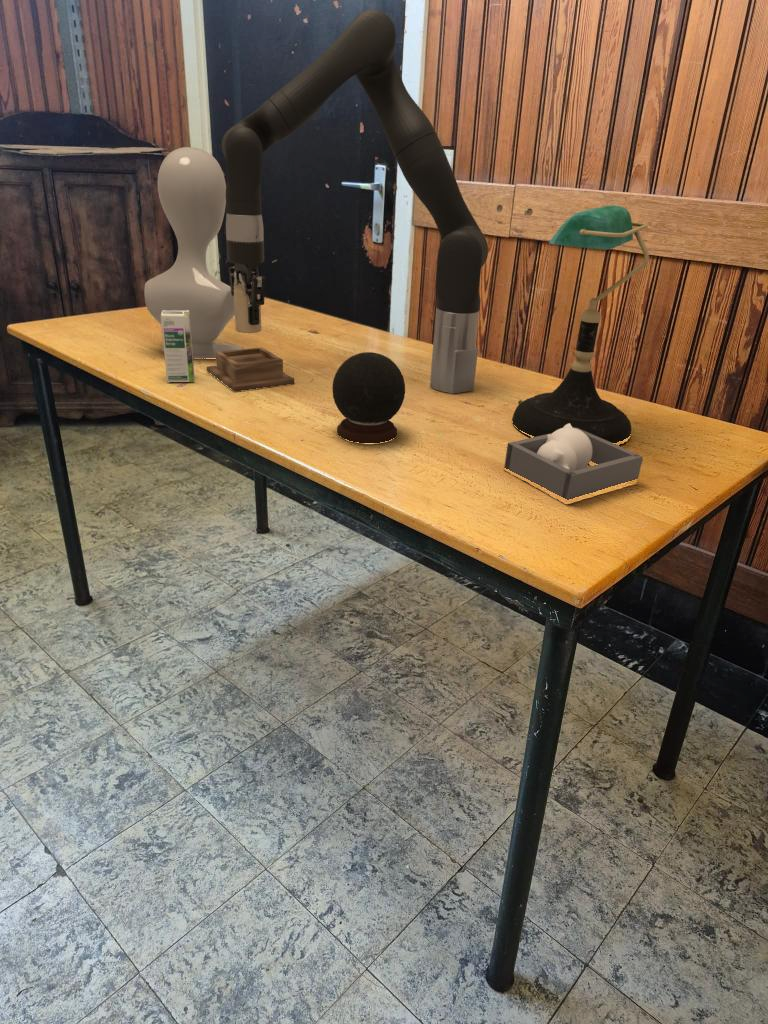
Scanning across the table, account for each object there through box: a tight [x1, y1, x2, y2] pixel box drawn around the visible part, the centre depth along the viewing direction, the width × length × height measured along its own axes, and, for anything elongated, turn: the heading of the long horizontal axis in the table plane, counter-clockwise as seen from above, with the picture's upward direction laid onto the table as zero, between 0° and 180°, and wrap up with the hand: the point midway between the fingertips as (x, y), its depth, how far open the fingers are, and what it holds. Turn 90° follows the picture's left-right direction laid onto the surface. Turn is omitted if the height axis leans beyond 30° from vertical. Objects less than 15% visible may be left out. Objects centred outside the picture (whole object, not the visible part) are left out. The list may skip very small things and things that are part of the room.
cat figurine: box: [537, 423, 593, 471], centre depth 117 cm, size 9×11×12 cm
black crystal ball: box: [331, 351, 406, 443], centre depth 127 cm, size 13×13×15 cm
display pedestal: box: [206, 346, 295, 392], centre depth 155 cm, size 16×14×5 cm
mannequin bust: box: [143, 146, 243, 360], centre depth 163 cm, size 22×20×45 cm
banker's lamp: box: [511, 204, 650, 443], centre depth 129 cm, size 26×23×40 cm
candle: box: [234, 282, 262, 334], centre depth 150 cm, size 6×6×10 cm
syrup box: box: [160, 310, 195, 383], centre depth 150 cm, size 6×6×14 cm
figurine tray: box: [503, 428, 644, 500], centre depth 116 cm, size 14×16×5 cm
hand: (248, 321), depth 151 cm, fingers closed on candle, 5 cm apart
